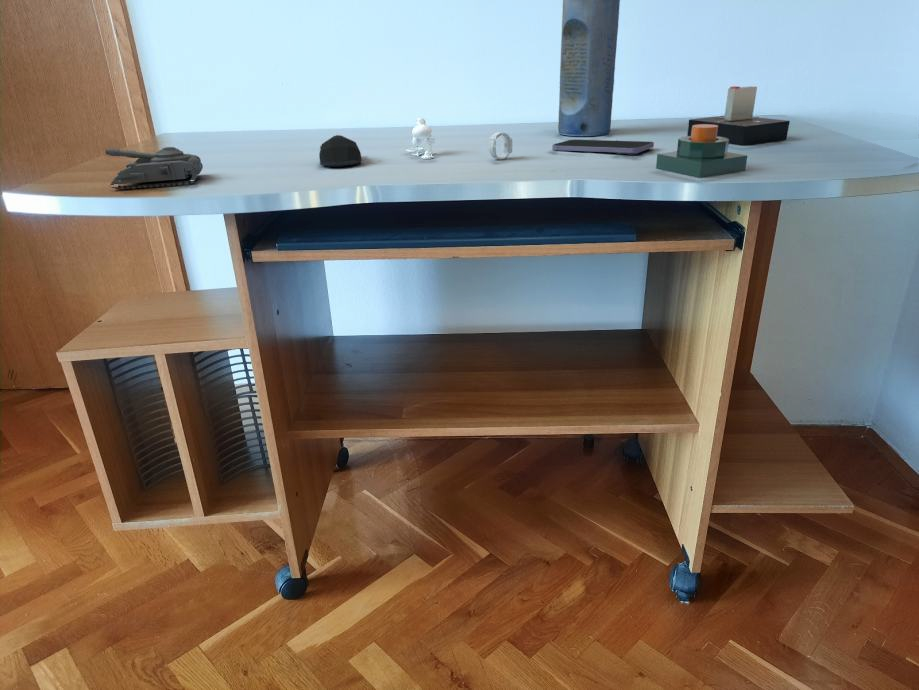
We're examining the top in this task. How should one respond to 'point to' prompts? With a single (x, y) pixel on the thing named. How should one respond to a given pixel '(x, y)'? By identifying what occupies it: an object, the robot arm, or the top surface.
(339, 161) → the gaming mouse
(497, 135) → the smartwatch
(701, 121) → the dial panel
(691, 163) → the green peg socket
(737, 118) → the white block
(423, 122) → the figurine
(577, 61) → the bottle
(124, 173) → the tank toy
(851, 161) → the top surface
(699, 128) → the orange short cylinder
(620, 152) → the smartphone
